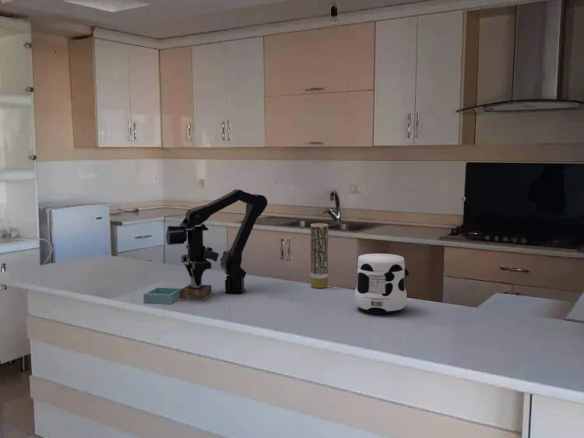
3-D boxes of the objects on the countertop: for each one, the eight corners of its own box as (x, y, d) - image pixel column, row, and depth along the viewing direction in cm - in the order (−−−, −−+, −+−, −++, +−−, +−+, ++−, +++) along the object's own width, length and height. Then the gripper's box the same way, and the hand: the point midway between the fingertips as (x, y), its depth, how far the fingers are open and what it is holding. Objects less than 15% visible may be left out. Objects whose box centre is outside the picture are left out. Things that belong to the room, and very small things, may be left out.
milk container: (389, 301, 202) (390, 251, 200) (416, 313, 186) (417, 259, 184) (345, 306, 196) (346, 254, 194) (370, 319, 180) (370, 263, 178)
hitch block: (211, 294, 214) (211, 285, 213) (203, 299, 205) (203, 290, 205) (190, 293, 216) (190, 284, 215) (181, 298, 207) (180, 289, 207)
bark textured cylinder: (326, 289, 221) (326, 225, 218) (309, 288, 222) (309, 225, 219) (328, 285, 228) (329, 223, 225) (312, 284, 229) (312, 223, 226)
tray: (182, 297, 209) (182, 288, 209) (170, 304, 199) (170, 295, 199) (156, 295, 212) (156, 287, 211) (143, 302, 202) (143, 293, 201)
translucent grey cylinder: (203, 295, 212) (203, 275, 211) (199, 298, 208) (199, 278, 207) (193, 294, 213) (193, 275, 212) (189, 297, 209) (189, 277, 208)
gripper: (224, 244, 203) (225, 287, 205) (208, 238, 220) (209, 277, 222) (194, 247, 198) (195, 290, 200) (180, 240, 215) (181, 280, 217)
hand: (196, 284), depth 210 cm, fingers closed on translucent grey cylinder, 4 cm apart
